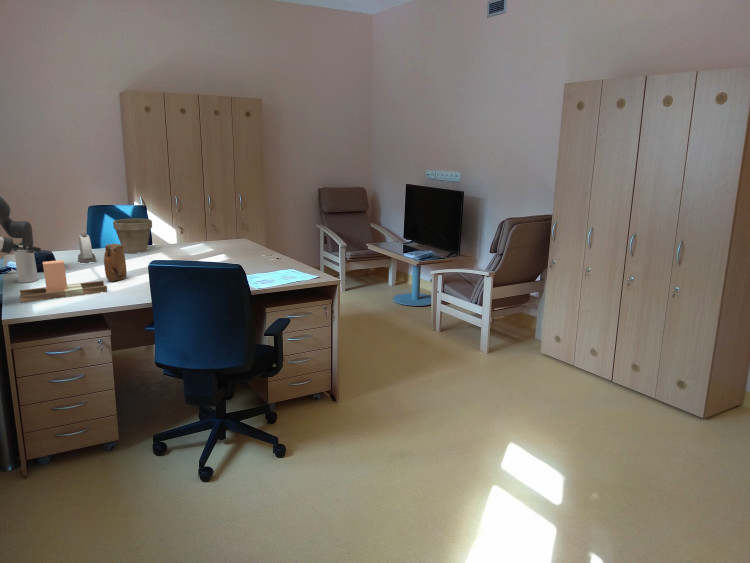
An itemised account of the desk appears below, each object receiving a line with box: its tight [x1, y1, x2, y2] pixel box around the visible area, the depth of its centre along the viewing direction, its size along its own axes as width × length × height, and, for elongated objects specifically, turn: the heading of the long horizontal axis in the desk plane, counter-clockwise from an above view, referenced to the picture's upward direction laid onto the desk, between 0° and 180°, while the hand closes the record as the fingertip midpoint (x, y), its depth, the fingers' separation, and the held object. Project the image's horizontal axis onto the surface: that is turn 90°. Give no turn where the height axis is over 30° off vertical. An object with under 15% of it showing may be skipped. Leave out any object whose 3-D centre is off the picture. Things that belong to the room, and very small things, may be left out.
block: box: [103, 243, 127, 282], centre depth 309 cm, size 11×8×20 cm
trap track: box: [19, 280, 108, 304], centre depth 283 cm, size 14×38×3 cm, turn 122°
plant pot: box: [112, 218, 153, 254], centre depth 386 cm, size 25×25×22 cm
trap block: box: [42, 259, 68, 292], centre depth 279 cm, size 6×9×14 cm, turn 122°
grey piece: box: [77, 233, 97, 263], centre depth 353 cm, size 16×10×18 cm, turn 34°
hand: (36, 250), depth 275 cm, fingers open, 8 cm apart
